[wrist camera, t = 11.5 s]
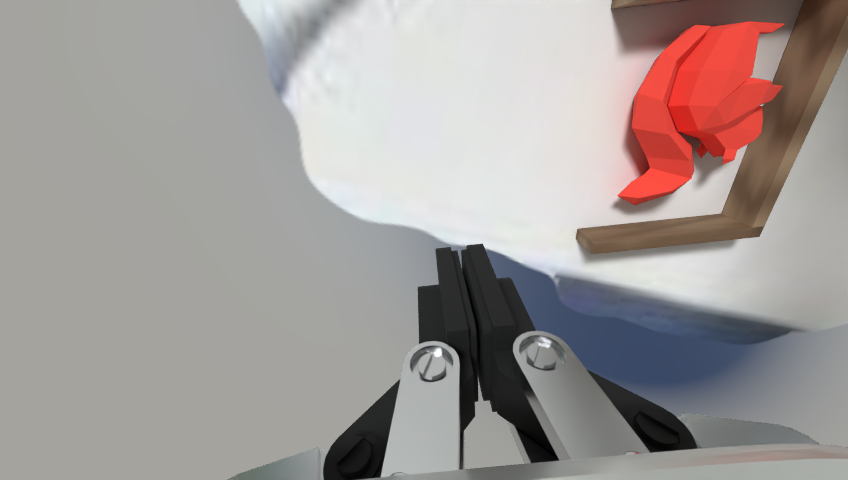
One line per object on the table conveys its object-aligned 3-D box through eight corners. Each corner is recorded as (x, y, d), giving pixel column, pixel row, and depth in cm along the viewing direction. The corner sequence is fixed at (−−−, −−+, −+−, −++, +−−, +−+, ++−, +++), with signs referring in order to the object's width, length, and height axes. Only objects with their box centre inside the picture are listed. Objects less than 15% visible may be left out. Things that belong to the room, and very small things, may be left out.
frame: (613, -10, 25) (642, -22, 22) (832, -35, 24) (894, -51, 21) (575, 238, 35) (591, 254, 32) (728, 222, 35) (759, 236, 32)
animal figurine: (589, 195, 33) (616, 215, 29) (640, 27, 26) (686, 18, 22) (693, 197, 34) (735, 216, 29) (772, 31, 26) (844, 24, 22)
